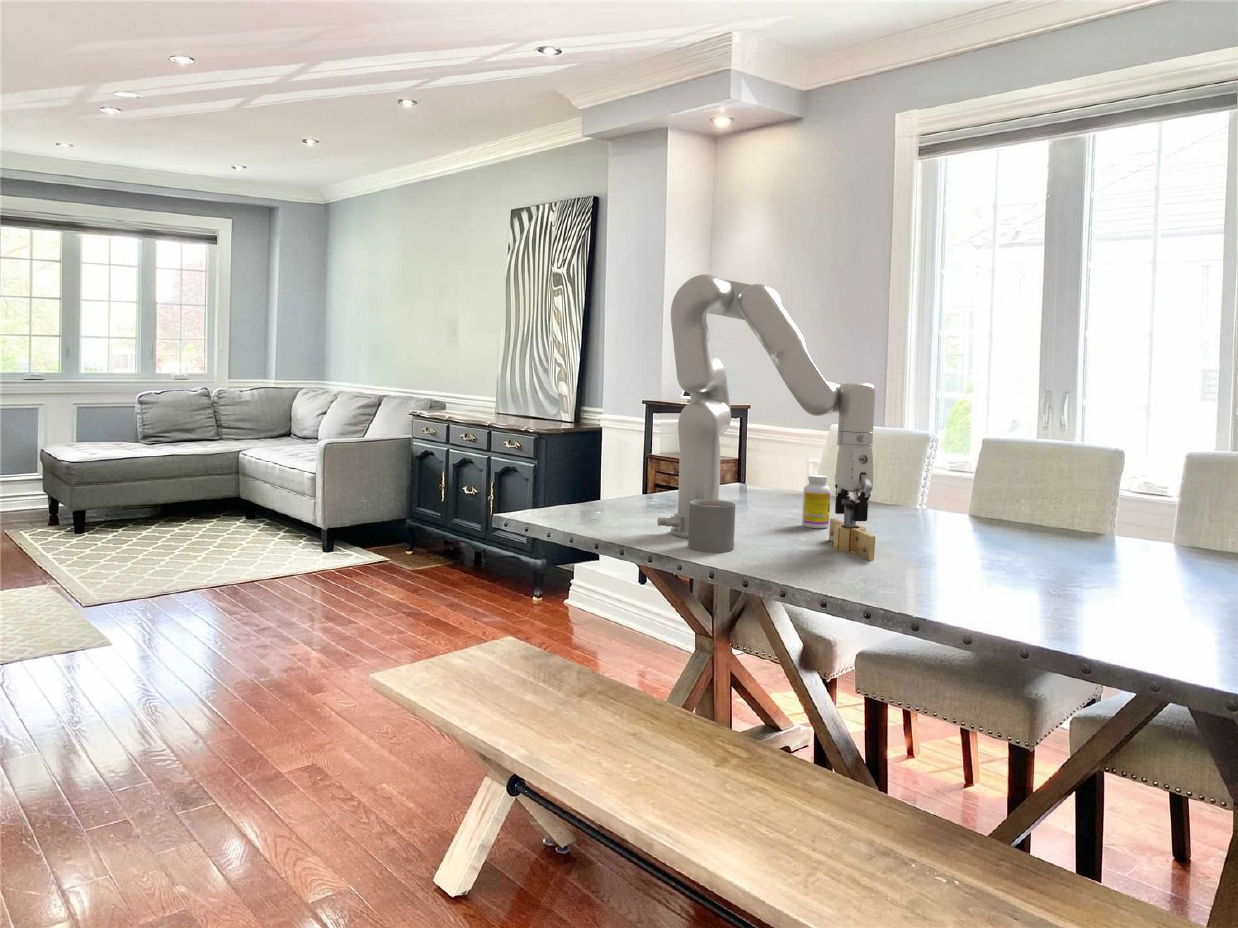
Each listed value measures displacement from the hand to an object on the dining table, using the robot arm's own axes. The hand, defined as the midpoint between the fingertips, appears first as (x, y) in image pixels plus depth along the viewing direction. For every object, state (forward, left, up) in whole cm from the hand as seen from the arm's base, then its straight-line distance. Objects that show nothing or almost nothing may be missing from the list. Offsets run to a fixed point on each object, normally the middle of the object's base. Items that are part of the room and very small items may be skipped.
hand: (850, 517), depth 206 cm
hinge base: (0, -4, -7) cm, 8 cm away
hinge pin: (0, 0, -7) cm, 7 cm away
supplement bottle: (+3, +27, -7) cm, 28 cm away
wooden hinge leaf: (0, +7, -7) cm, 10 cm away
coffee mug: (-30, +4, -7) cm, 31 cm away
